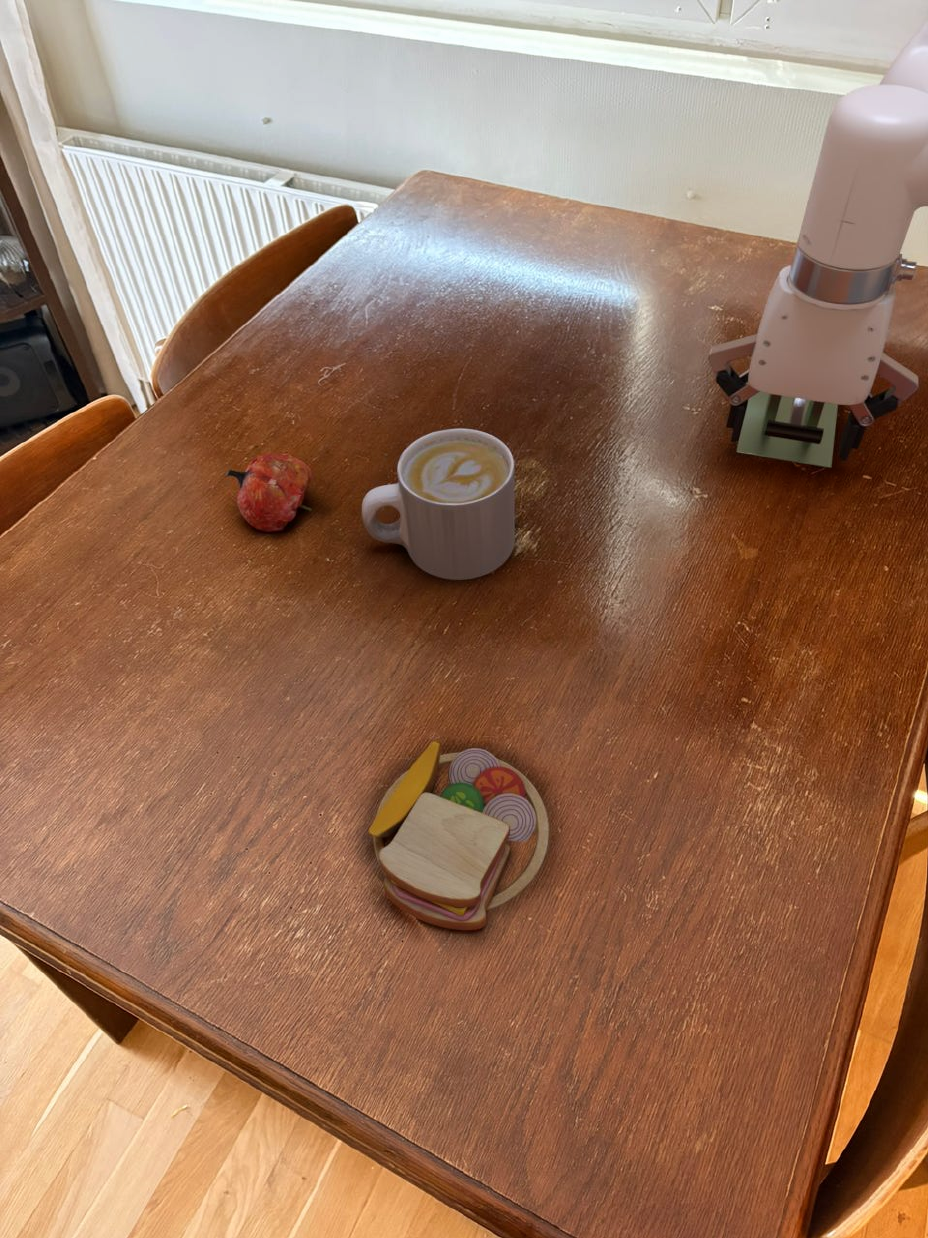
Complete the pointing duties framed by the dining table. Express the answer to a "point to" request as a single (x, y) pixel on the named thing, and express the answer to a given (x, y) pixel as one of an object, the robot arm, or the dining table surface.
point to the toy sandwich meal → (456, 836)
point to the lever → (794, 426)
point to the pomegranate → (272, 490)
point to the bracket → (780, 410)
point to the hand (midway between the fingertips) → (788, 442)
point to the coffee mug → (450, 504)
